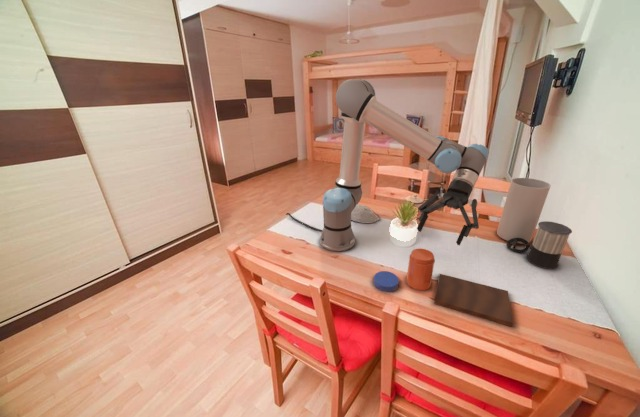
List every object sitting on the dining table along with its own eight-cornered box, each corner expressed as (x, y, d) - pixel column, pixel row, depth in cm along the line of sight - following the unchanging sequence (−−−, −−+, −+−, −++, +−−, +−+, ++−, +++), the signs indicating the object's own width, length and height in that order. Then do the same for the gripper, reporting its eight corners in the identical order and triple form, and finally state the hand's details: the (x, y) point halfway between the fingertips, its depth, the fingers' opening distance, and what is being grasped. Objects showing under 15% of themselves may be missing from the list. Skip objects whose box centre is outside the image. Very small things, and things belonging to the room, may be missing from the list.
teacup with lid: (417, 220, 131) (420, 199, 126) (400, 216, 137) (402, 195, 132) (426, 212, 139) (429, 192, 134) (409, 208, 145) (412, 188, 140)
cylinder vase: (520, 247, 107) (539, 190, 96) (490, 234, 117) (504, 181, 106) (537, 239, 112) (557, 184, 101) (506, 227, 122) (522, 176, 112)
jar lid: (392, 295, 85) (393, 290, 84) (369, 285, 90) (369, 280, 89) (401, 281, 91) (402, 276, 90) (379, 272, 96) (380, 268, 95)
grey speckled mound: (346, 203, 152) (346, 193, 149) (384, 217, 137) (385, 206, 134) (329, 215, 143) (328, 204, 139) (368, 231, 128) (368, 219, 124)
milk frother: (559, 272, 92) (575, 236, 86) (505, 259, 100) (516, 225, 94) (553, 252, 103) (566, 219, 97) (505, 242, 111) (515, 210, 105)
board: (434, 303, 81) (434, 299, 80) (438, 276, 92) (439, 273, 92) (511, 327, 72) (513, 323, 72) (506, 294, 83) (507, 290, 83)
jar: (404, 285, 89) (408, 257, 84) (408, 272, 95) (412, 245, 90) (428, 293, 85) (434, 263, 80) (431, 278, 91) (436, 250, 87)
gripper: (426, 172, 99) (401, 221, 96) (502, 187, 82) (475, 246, 79) (430, 182, 104) (407, 228, 101) (502, 198, 88) (477, 254, 85)
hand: (437, 236), depth 90 cm, fingers open, 13 cm apart
